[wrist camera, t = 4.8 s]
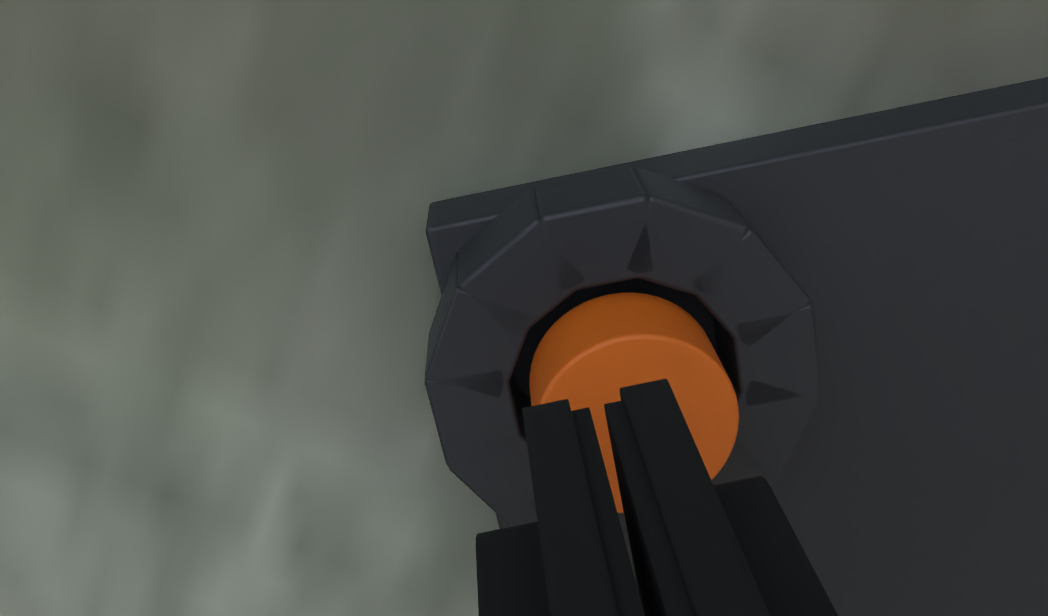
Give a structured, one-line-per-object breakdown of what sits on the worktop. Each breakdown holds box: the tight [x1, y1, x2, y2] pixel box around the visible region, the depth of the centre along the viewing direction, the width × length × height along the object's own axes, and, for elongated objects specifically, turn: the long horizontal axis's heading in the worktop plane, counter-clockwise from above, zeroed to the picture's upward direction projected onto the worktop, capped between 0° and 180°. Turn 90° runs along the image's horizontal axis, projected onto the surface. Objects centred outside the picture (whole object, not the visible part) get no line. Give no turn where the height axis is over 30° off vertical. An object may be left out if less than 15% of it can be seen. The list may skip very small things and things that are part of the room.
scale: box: [425, 77, 1048, 616], centre depth 17 cm, size 16×14×3 cm
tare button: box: [529, 292, 739, 513], centre depth 14 cm, size 3×3×2 cm
